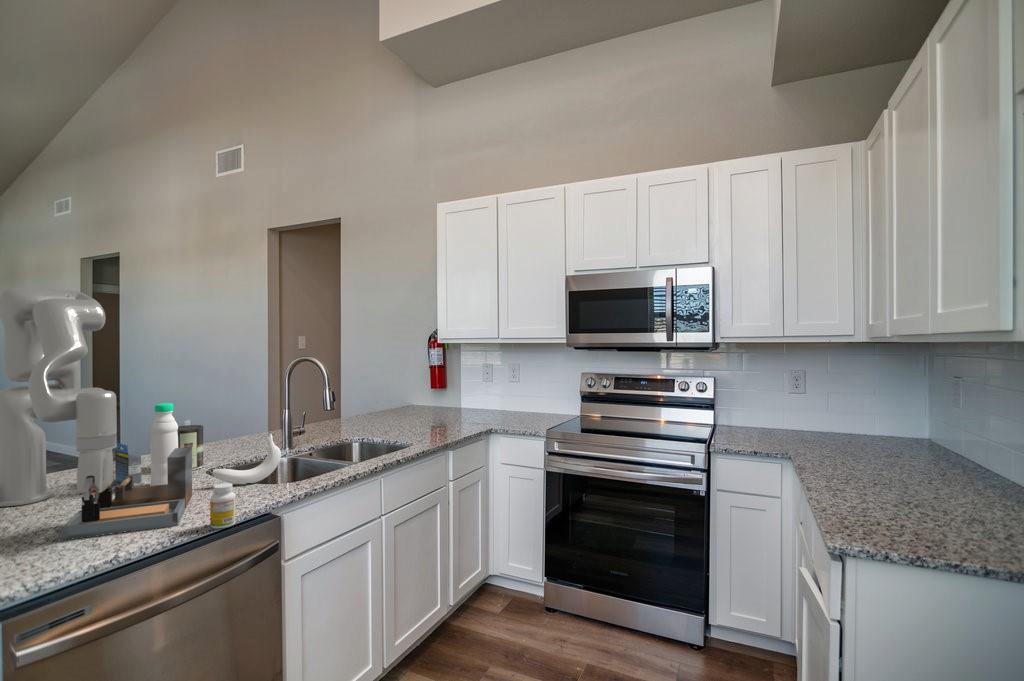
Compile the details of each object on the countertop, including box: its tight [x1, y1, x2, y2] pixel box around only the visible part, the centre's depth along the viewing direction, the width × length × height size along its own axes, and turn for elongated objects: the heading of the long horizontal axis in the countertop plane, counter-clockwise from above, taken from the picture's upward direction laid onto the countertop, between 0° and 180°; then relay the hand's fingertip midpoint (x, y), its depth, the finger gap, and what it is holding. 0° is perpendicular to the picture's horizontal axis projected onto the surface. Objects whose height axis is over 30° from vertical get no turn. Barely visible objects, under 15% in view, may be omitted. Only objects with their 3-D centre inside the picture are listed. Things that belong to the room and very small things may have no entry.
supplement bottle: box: [209, 482, 237, 529], centre depth 125 cm, size 5×5×10 cm
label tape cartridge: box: [114, 442, 142, 485], centre depth 160 cm, size 9×4×12 cm, turn 59°
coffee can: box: [177, 424, 205, 471], centre depth 176 cm, size 10×10×14 cm
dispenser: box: [111, 447, 193, 510], centre depth 138 cm, size 16×12×14 cm
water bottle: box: [149, 402, 179, 486], centre depth 157 cm, size 7×7×25 cm
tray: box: [60, 499, 186, 541], centre depth 125 cm, size 22×12×3 cm, turn 115°
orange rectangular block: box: [82, 504, 169, 524], centre depth 125 cm, size 16×6×2 cm, turn 115°
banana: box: [212, 432, 282, 485], centre depth 159 cm, size 5×19×15 cm, turn 128°
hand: (97, 514), depth 123 cm, fingers open, 9 cm apart
